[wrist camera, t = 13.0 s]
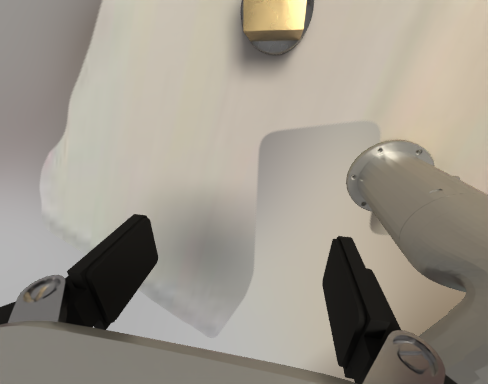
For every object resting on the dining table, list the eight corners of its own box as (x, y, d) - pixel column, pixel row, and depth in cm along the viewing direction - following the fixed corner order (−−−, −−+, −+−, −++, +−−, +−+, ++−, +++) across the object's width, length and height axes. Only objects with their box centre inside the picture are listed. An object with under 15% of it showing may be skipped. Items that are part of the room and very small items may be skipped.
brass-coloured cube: (306, -27, 25) (312, -58, 19) (299, 40, 28) (303, 29, 22) (251, -23, 26) (243, -52, 20) (250, 41, 28) (243, 31, 23)
